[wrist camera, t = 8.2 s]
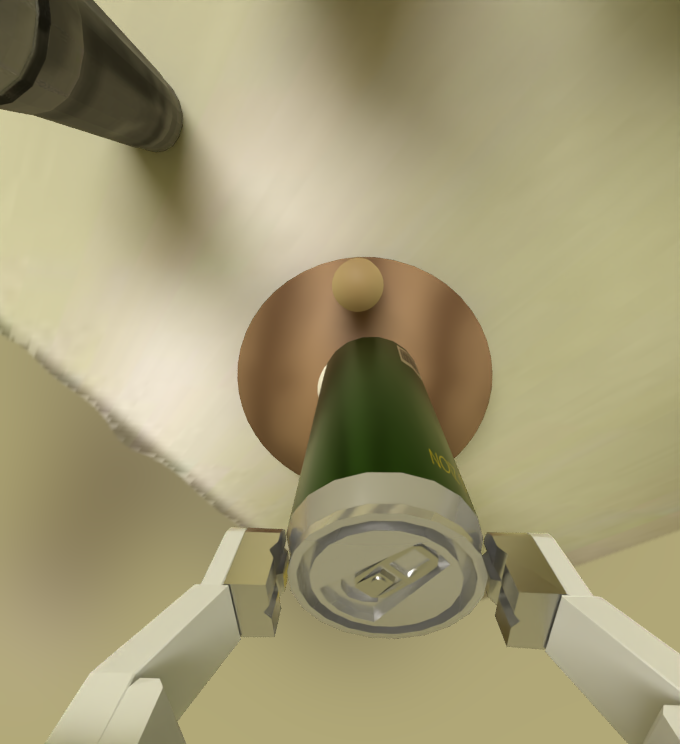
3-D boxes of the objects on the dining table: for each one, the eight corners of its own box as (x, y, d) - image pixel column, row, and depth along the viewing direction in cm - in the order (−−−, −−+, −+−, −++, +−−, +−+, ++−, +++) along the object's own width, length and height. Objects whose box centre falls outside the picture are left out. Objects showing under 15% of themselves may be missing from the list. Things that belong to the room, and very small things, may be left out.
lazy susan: (496, 249, 23) (541, 249, 17) (470, 476, 30) (496, 529, 24) (227, 263, 24) (187, 267, 19) (263, 476, 31) (241, 526, 26)
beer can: (369, 312, 17) (387, 463, 6) (435, 374, 18) (544, 588, 8) (306, 376, 19) (236, 579, 8) (370, 429, 20) (383, 663, 9)
